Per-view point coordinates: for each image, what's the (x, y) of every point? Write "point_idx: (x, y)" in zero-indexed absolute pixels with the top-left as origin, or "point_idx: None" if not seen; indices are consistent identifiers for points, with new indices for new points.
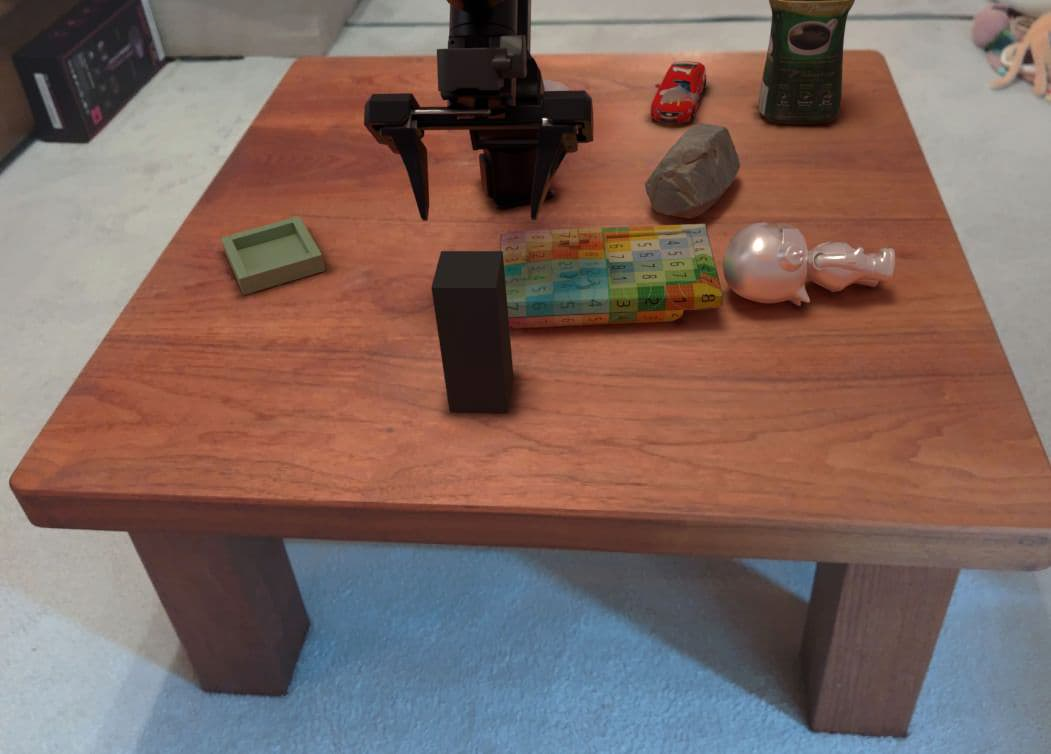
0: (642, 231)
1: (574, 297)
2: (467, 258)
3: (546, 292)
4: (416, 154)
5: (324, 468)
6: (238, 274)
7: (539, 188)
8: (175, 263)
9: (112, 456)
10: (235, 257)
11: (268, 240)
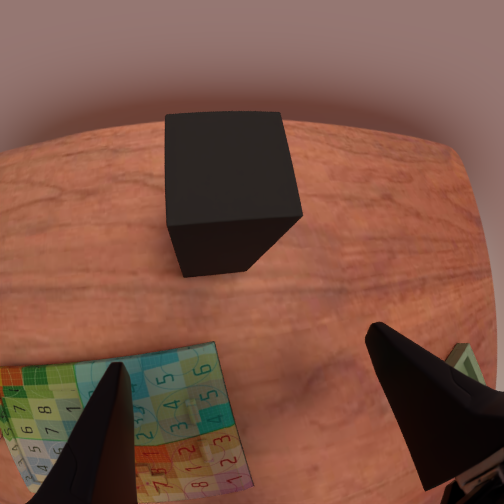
0: None
1: None
2: (239, 192)
3: (152, 373)
4: (473, 407)
5: (320, 145)
6: (470, 348)
7: (90, 415)
8: (493, 361)
9: (439, 164)
10: (476, 369)
11: None
